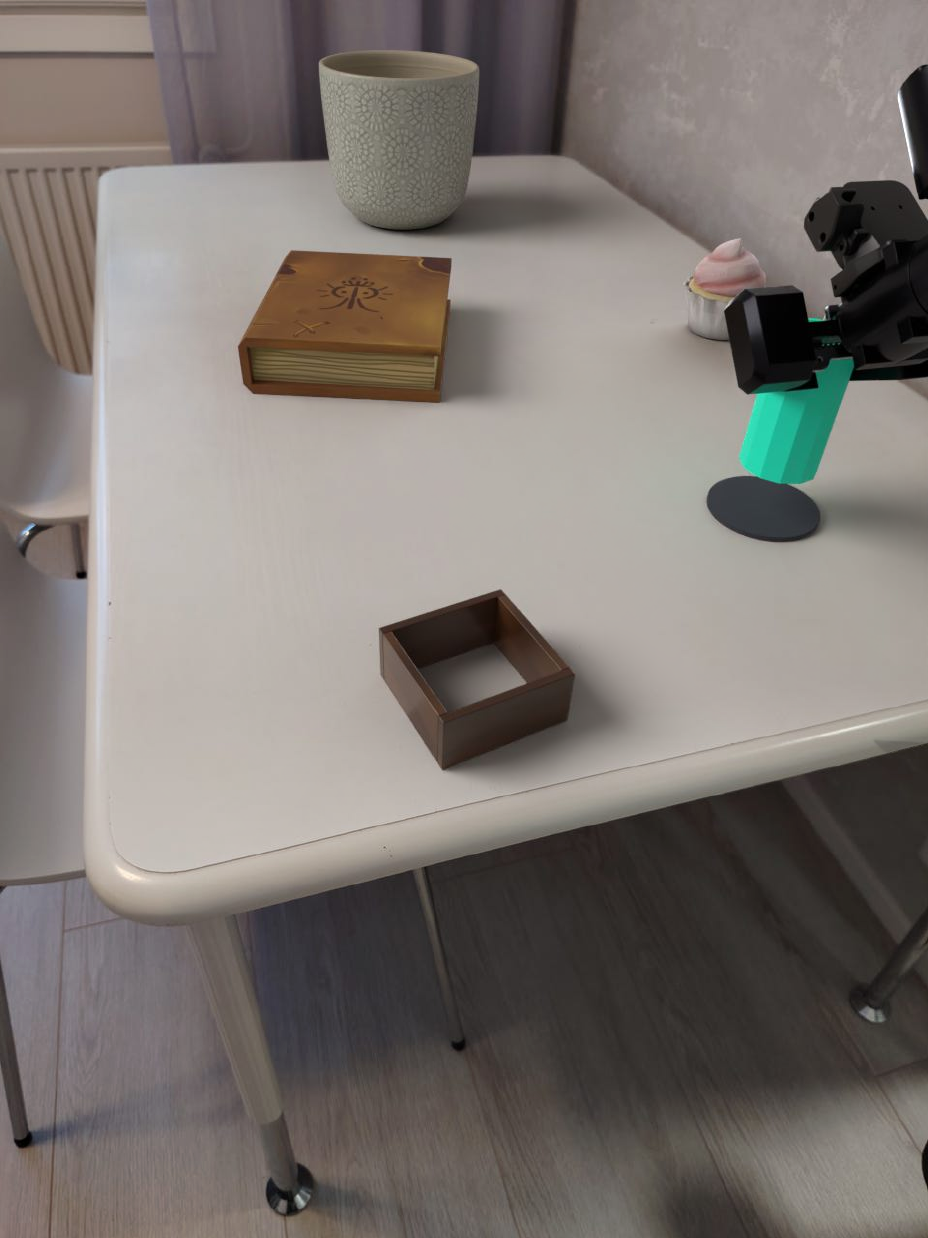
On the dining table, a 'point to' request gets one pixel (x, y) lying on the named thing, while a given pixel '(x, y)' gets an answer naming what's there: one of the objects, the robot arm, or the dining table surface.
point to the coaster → (763, 508)
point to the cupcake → (720, 287)
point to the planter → (399, 133)
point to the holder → (487, 718)
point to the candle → (794, 427)
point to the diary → (351, 328)
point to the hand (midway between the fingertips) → (792, 377)
